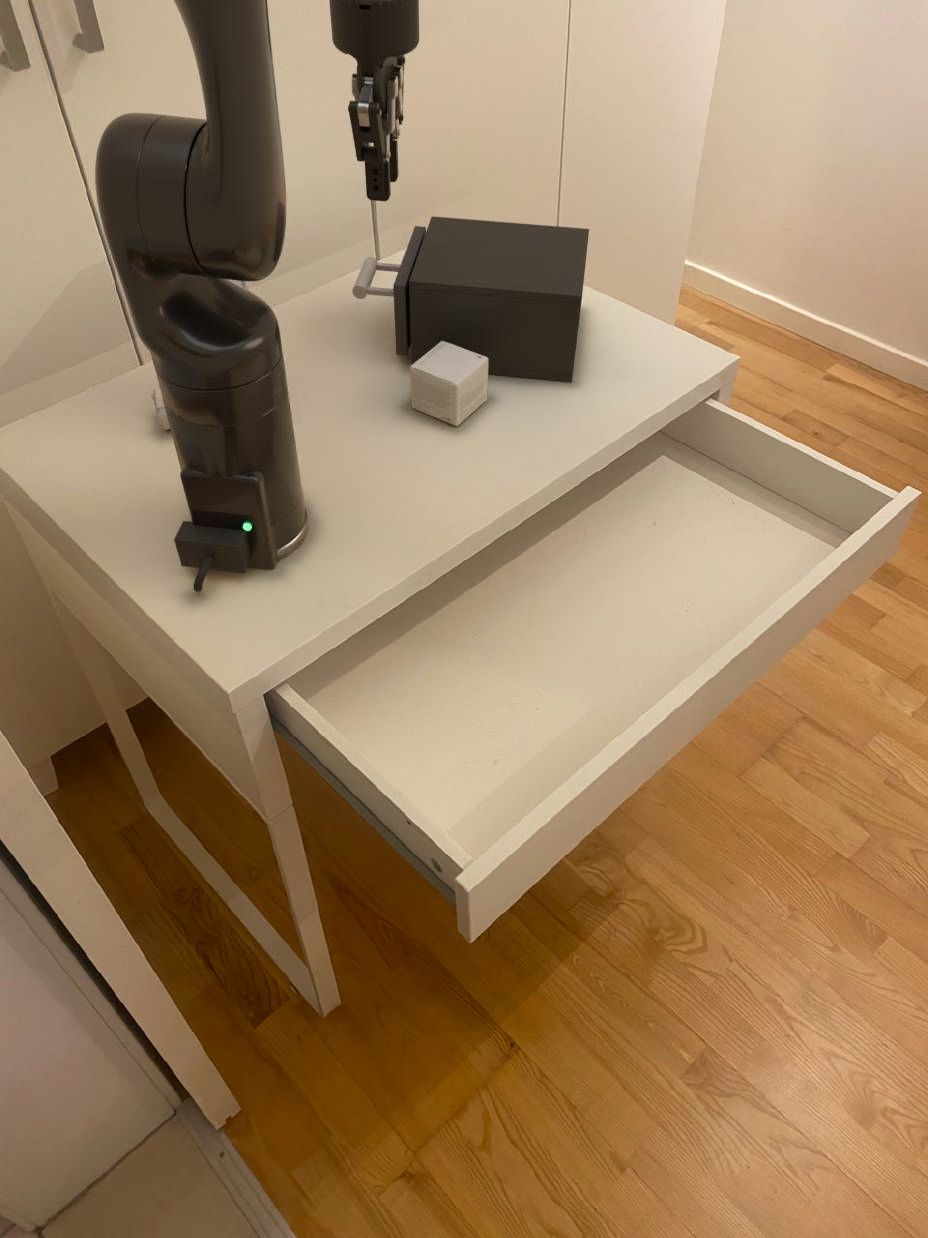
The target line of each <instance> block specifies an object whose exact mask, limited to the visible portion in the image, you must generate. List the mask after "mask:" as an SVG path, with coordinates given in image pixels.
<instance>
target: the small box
mask: <svg viewBox="0 0 928 1238" xmlns="http://www.w3.org/2000/svg"><path fill="white" fill-rule="evenodd" d="M409 374H410V375H409V377H410V398H411V400H410V401H411V402H410V403H411V408H412V409H414V410H416V411H419V412H421V413H423V414H426V415H429V416H431V417H434V418H436V419H439V420H441V421H443V422H444V423H448V424H450V425H452V426H454V427H459V426H460V424H461V423H463V422H464V421H465V420H466V419H467V418H468V417H470V415H472V414H473V413H474V412H475V411H476V410H477V409H478V408H479V407H480V406H481V405H483V404H484V403H485V402H486V401H487V400H488V392H489V391H488V390H489V389H488V387H489V386H488V385H489V384H488V383H489V374H488V358H487V357H485V356H482V355H480V354H477V353H474V352H471V351H469V350H466V349H463V348H461V347H458V346H456V345H453V344H450V343H447V342H444V341H441V342H440V343H439V344H437V345H436V346H435V347H434V348H432V349H431V350H430V351H429V352H427V353H426V354H425V355H424V356H423V357H421V358H420V359H419V360H418V361H416V362H415V363H414V364H413V365H412V364H411V365H410V366H409Z"/></svg>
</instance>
